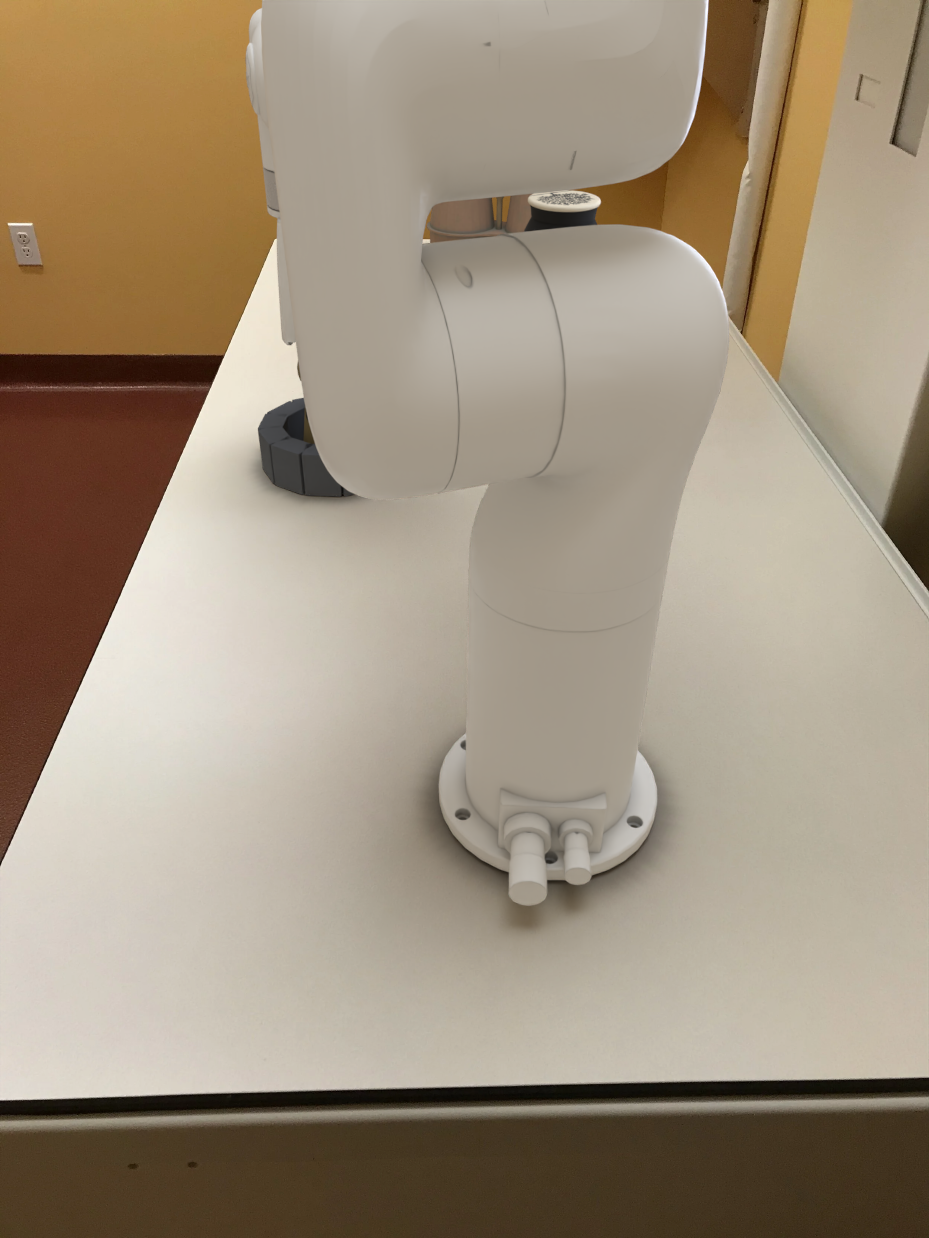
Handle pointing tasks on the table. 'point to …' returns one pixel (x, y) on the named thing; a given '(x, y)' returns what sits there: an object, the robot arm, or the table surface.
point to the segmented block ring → (294, 453)
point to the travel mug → (562, 210)
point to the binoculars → (477, 218)
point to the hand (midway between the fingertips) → (330, 404)
